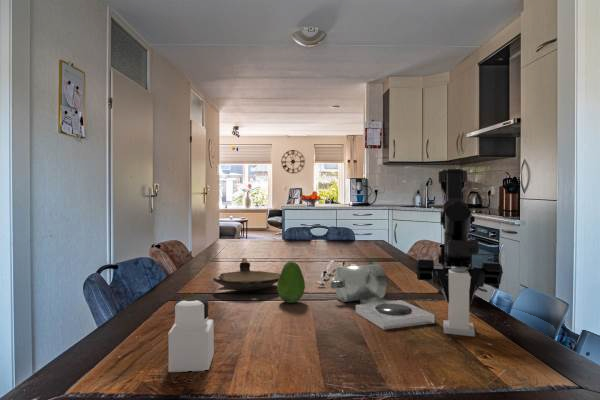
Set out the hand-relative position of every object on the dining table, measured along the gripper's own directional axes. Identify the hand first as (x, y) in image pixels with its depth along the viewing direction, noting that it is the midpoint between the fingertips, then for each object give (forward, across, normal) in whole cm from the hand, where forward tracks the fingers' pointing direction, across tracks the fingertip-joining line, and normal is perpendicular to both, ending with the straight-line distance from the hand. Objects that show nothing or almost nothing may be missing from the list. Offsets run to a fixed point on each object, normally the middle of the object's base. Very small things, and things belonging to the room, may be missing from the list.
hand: (458, 303), depth 90 cm
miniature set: (-30, -39, +40) cm, 63 cm away
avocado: (-3, -44, +13) cm, 46 cm away
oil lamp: (-12, -63, +22) cm, 68 cm away
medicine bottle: (+28, -48, -19) cm, 59 cm away
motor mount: (-4, -21, +13) cm, 25 cm away
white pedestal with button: (+4, 0, +6) cm, 7 cm away
